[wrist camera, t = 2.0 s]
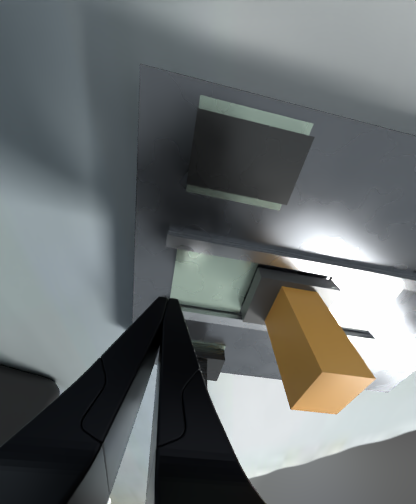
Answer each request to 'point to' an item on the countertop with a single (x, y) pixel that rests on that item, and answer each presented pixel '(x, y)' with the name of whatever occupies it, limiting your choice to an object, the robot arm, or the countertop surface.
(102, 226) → the countertop surface
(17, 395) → the dark rounded block
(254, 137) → the breaker panel
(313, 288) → the block
